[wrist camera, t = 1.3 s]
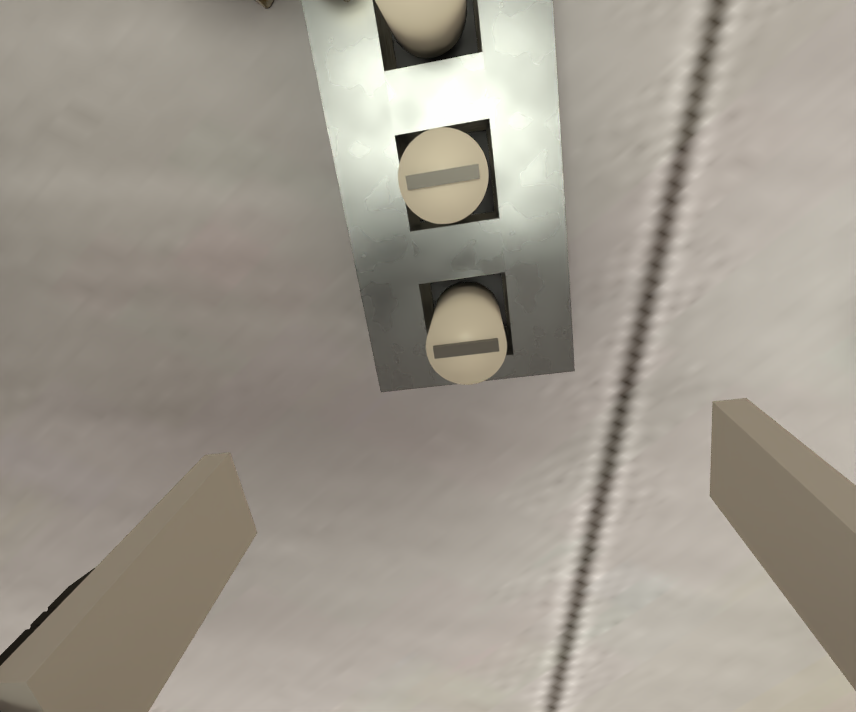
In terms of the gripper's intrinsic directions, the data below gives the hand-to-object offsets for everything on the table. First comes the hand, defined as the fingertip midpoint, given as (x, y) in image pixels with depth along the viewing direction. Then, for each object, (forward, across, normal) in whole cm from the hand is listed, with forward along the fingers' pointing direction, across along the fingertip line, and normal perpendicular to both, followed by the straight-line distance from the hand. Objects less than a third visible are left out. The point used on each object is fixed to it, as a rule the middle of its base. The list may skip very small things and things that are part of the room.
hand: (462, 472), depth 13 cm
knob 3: (+18, 0, 0) cm, 18 cm away
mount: (+23, 0, +8) cm, 24 cm away
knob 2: (+18, 0, +8) cm, 20 cm away
